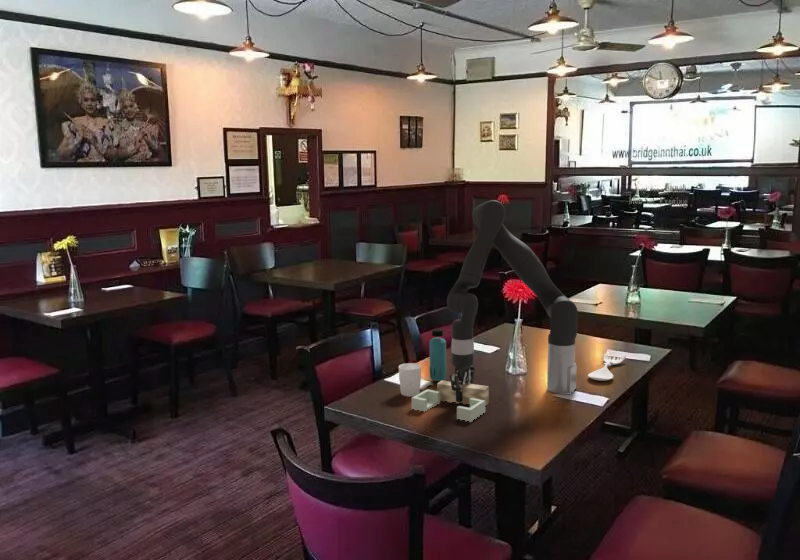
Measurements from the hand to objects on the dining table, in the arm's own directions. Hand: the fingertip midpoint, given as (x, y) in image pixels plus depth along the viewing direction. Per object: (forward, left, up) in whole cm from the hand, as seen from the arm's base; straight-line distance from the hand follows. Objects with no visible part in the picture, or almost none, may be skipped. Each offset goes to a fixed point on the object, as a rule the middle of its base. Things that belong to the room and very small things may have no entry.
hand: (462, 399), depth 225 cm
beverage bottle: (+18, -14, -1) cm, 23 cm away
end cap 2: (-9, +10, -1) cm, 13 cm away
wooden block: (0, 0, -1) cm, 1 cm away
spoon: (-32, -57, -1) cm, 65 cm away
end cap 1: (+8, +10, -1) cm, 13 cm away
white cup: (+20, +2, -1) cm, 20 cm away
